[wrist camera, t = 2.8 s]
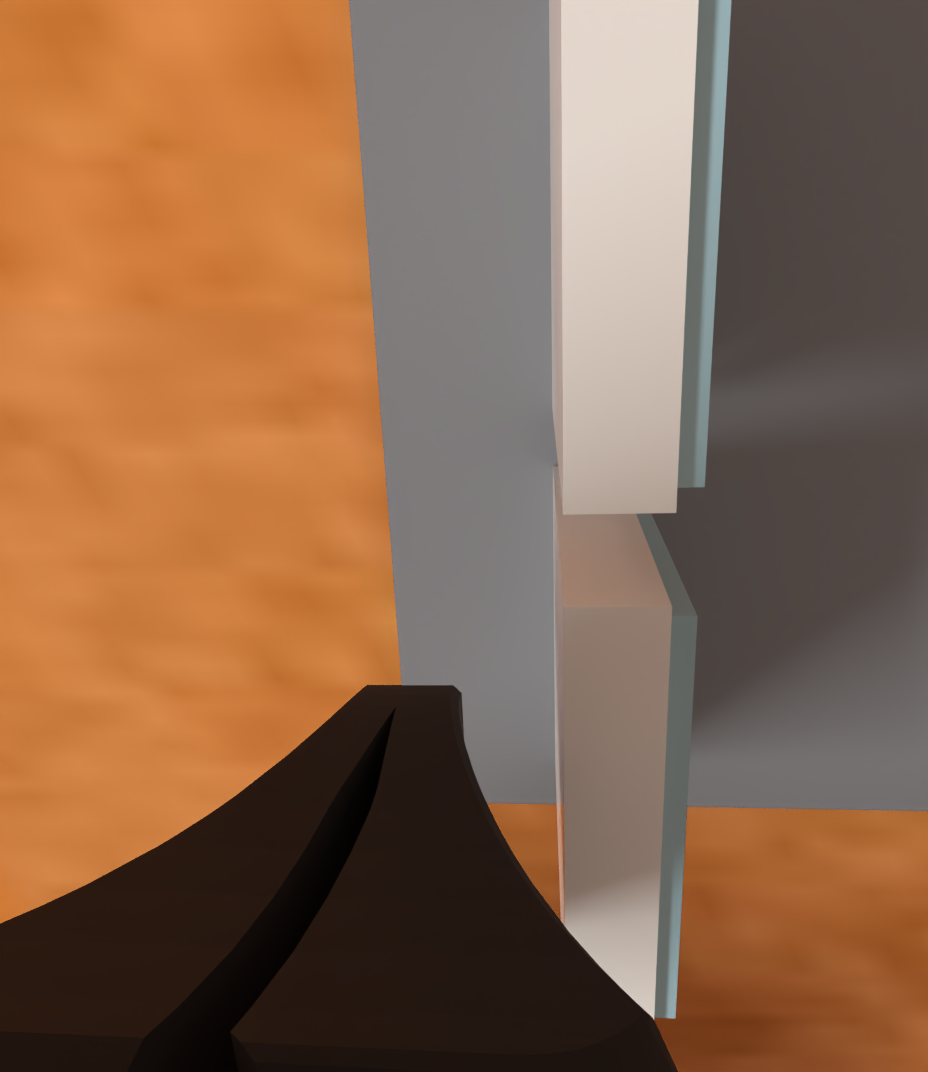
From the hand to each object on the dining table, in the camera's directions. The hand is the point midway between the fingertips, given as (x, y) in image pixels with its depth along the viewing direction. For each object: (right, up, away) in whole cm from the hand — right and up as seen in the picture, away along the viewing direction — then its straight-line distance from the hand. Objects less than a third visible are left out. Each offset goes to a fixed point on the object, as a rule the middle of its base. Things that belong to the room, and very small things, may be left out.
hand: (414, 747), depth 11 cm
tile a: (+3, +1, +4) cm, 5 cm away
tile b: (+3, +8, +1) cm, 9 cm away
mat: (+6, +5, +3) cm, 8 cm away
